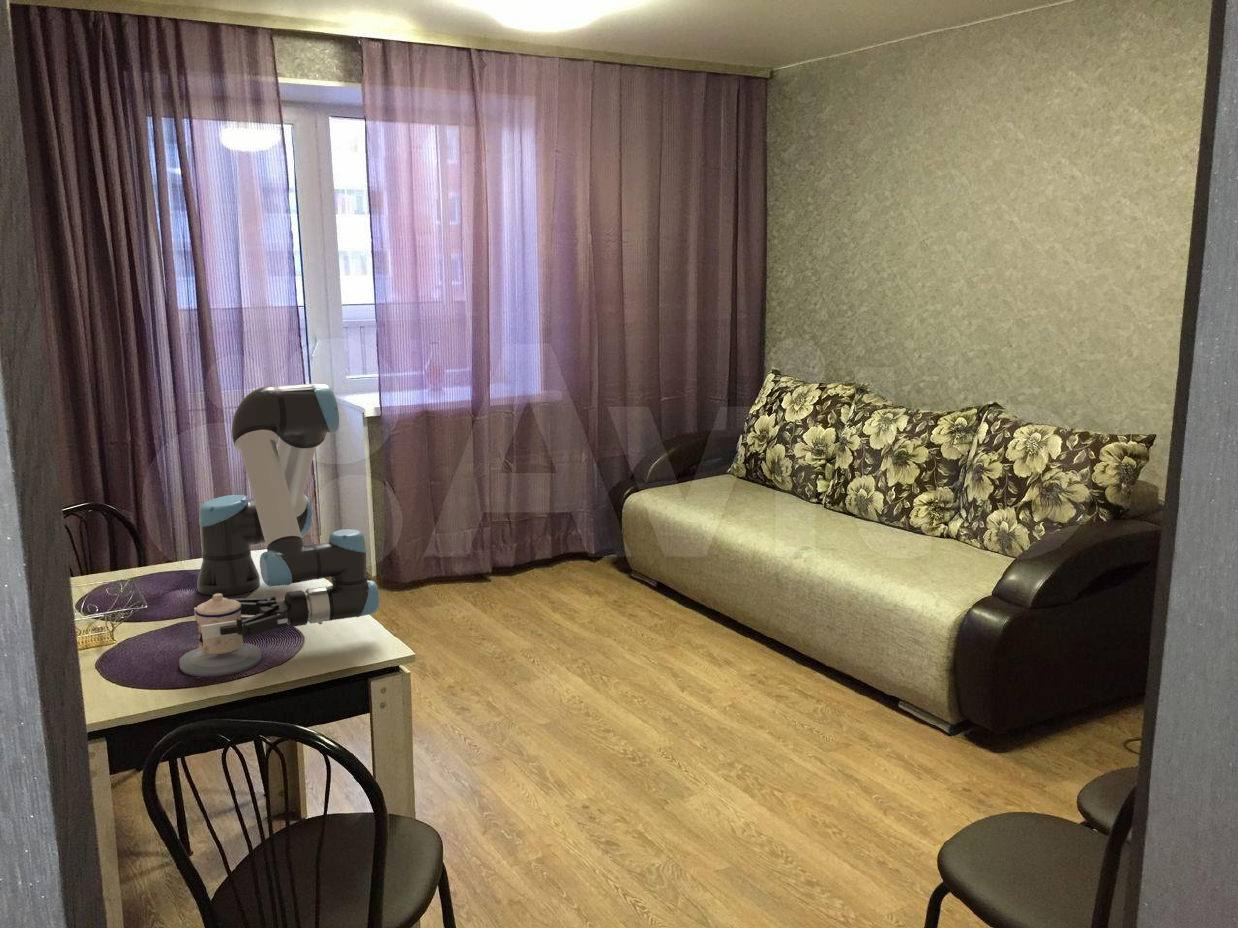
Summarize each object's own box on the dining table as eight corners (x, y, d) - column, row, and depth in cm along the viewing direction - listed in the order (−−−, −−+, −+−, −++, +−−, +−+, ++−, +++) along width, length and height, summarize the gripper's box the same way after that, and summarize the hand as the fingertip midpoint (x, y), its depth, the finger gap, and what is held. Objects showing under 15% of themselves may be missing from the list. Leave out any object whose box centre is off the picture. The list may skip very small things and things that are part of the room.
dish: (175, 655, 219) (175, 649, 219) (254, 642, 227) (253, 637, 226) (184, 682, 205) (183, 676, 205) (267, 667, 213) (267, 661, 212)
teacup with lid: (203, 640, 220) (199, 588, 218) (247, 638, 222) (244, 586, 220) (190, 661, 209) (186, 607, 207) (237, 659, 210) (233, 604, 208)
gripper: (319, 641, 213) (207, 659, 203) (295, 607, 234) (192, 622, 223) (317, 606, 212) (204, 623, 201) (293, 575, 232) (190, 589, 222)
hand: (198, 623), depth 212 cm, fingers closed on teacup with lid, 11 cm apart
